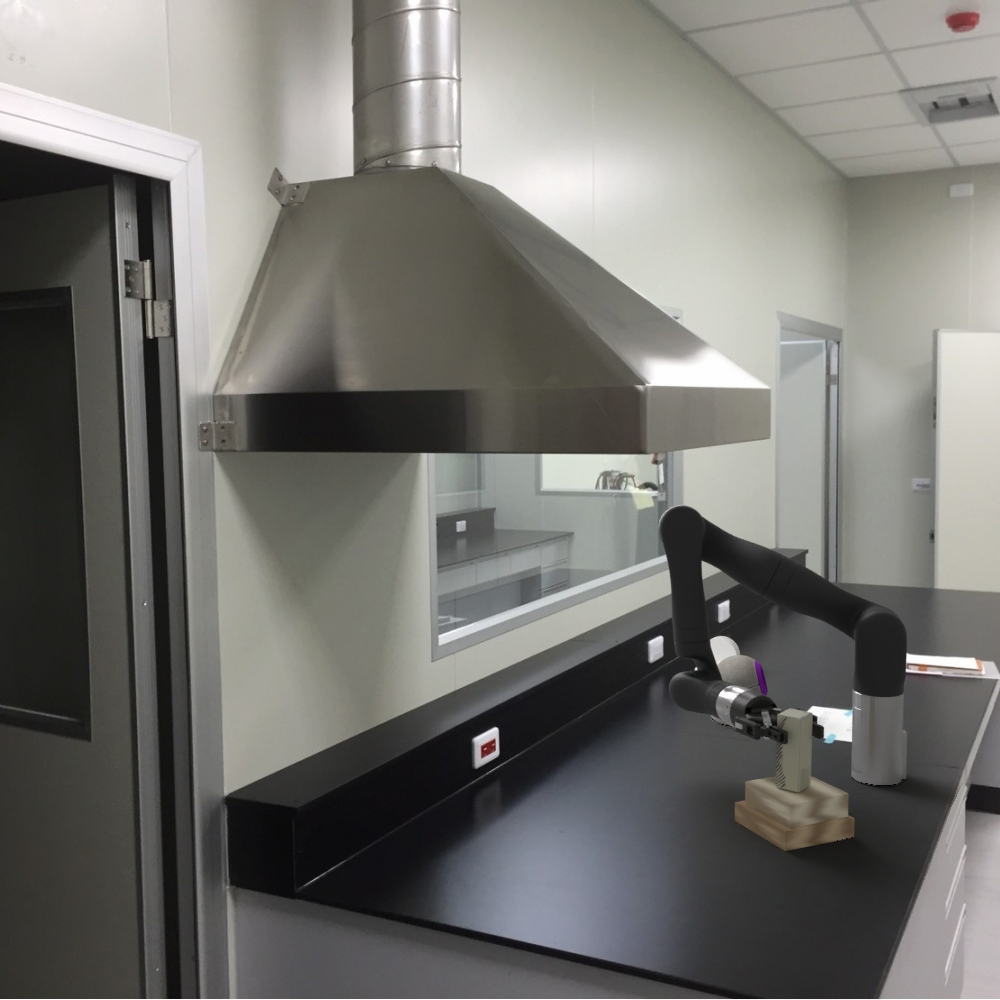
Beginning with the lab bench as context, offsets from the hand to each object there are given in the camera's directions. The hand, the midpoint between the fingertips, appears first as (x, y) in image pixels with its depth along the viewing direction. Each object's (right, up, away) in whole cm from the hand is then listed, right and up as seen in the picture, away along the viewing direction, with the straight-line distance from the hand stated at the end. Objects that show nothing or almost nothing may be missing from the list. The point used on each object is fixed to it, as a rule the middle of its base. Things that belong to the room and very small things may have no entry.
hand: (804, 735), depth 177 cm
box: (-1, -10, +3) cm, 10 cm away
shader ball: (+4, -12, +68) cm, 69 cm away
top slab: (-1, -13, +3) cm, 14 cm away
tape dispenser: (+9, -8, +108) cm, 109 cm away
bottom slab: (-1, -17, +4) cm, 18 cm away
